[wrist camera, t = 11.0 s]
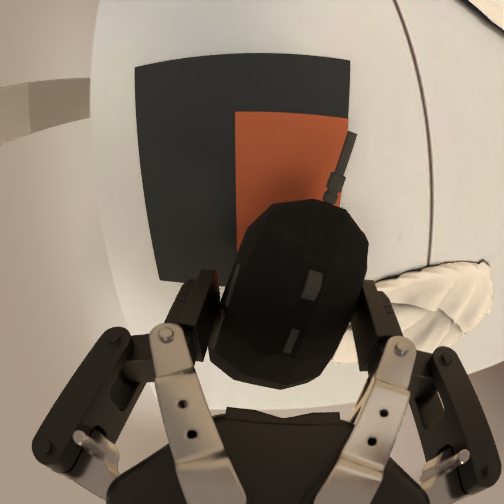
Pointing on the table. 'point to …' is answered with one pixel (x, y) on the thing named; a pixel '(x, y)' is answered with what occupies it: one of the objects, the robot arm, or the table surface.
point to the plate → (491, 10)
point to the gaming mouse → (291, 289)
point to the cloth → (433, 305)
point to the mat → (233, 148)
